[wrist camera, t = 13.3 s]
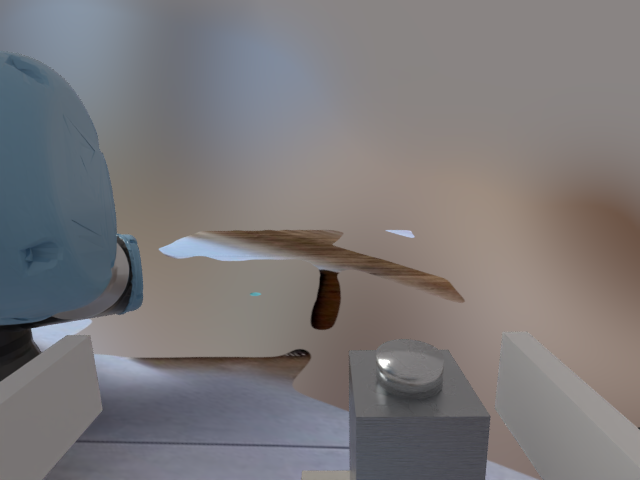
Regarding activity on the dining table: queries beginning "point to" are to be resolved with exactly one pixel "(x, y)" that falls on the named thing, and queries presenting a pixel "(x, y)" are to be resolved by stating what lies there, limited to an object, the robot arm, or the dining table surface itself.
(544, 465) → the robot arm
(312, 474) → the plinth
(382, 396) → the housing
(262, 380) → the dining table surface
